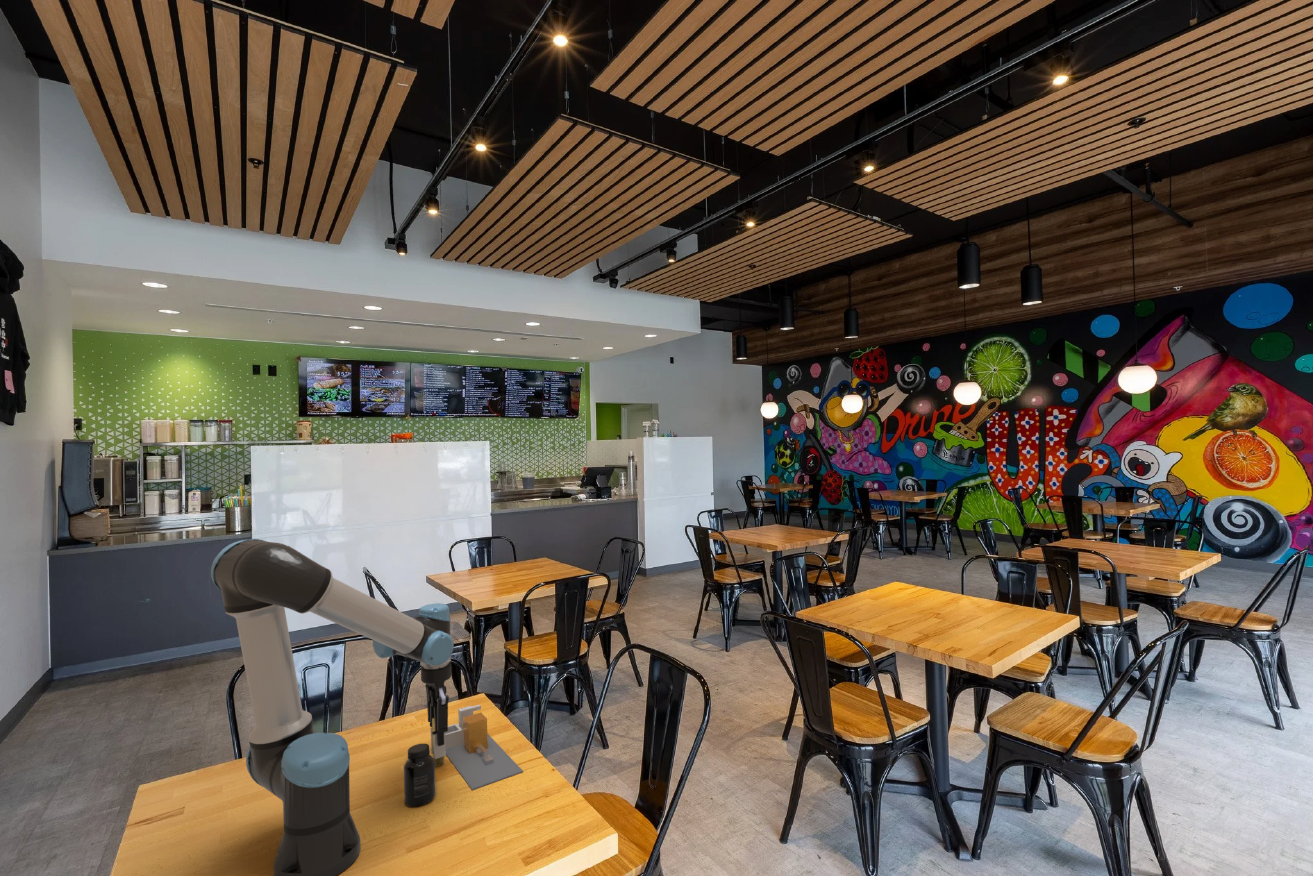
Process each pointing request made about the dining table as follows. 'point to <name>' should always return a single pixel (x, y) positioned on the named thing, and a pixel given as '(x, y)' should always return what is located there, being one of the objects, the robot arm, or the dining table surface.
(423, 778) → the supplement bottle
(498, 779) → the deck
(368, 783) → the dining table surface
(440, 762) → the pin
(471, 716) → the orange block with fittings
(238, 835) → the dining table surface
